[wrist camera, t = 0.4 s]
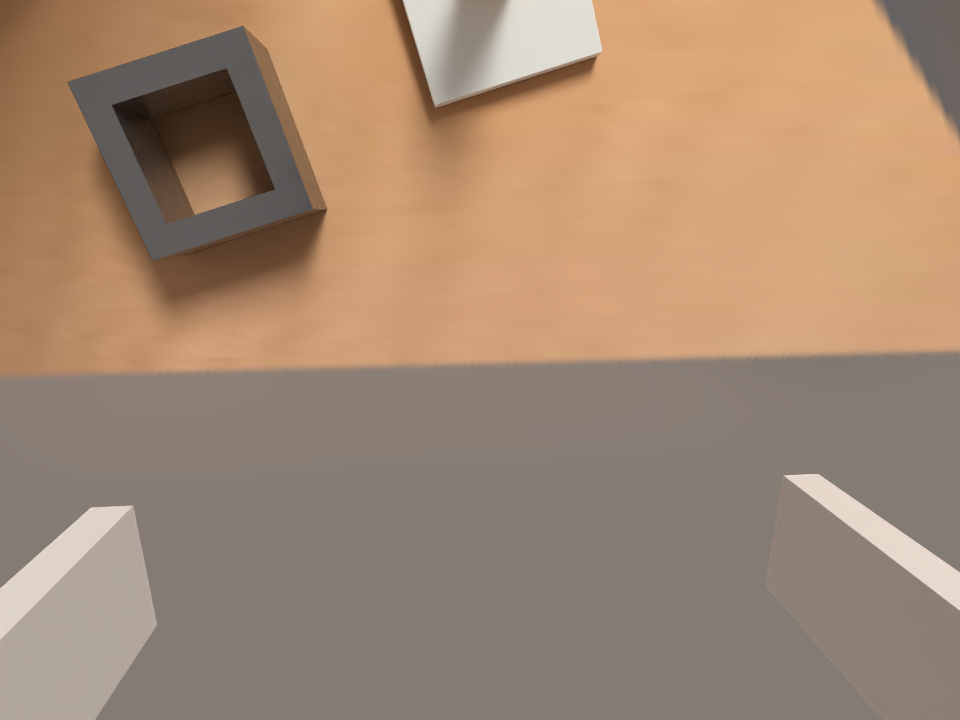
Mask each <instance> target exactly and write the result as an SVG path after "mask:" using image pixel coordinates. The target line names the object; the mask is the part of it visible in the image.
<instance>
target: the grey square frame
mask: <svg viewBox="0 0 960 720" xmlns="http://www.w3.org/2000/svg"><path fill="white" fill-rule="evenodd" d="M68 84H69V87H70V89H71V91H72V93H73V95H74V97H75V99H76V101H77V103H78V105H79V108H80V110H81V112H82V114H83V116H84V118H85V120H86V122H87V124H88V126H89V128H90V131H91V133H92V135H93V137H94V139H95V141H96V143H97V145H98V147H99V149H100V152H101V154H102V156H103V158H104V160H105V162H106V164H107V166H108V168H109V170H110V173H111V175H112V177H113V179H114V181H115V183H116V185H117V187H118V189H119V191H120V193H121V196H122V198H123V200H124V202H125V204H126V206H127V208H128V210H129V212H130V214H131V217H132V219H133V221H134V223H135V225H136V227H137V229H138V231H139V233H140V235H141V237H142V240H143V242H144V244H145V246H146V248H147V250H148V252H149V254H150V256H151V258H152V260H158V259H163V258H169V257H174V256H180V255H185V254H188V253H192V252H195V251H198V250H201V249H204V248H207V247H210V246H213V245H217V244H220V243H223V242H226V241H229V240H232V239H235V238H238V237H242V236H245V235H248V234H251V233H254V232H257V231H260V230H263V229H267V228H270V227H273V226H276V225H279V224H282V223H285V222H288V221H292V220H295V219H298V218H301V217H304V216H307V215H310V214H313V213H317V212H320V211H323V210H326V209H327V208H326V205H325V202H324V200H323V197H322V194H321V192H320V189H319V186H318V184H317V181H316V178H315V176H314V173H313V170H312V168H311V165H310V162H309V160H308V157H307V154H306V152H305V149H304V146H303V144H302V141H301V138H300V136H299V133H298V130H297V128H296V125H295V122H294V120H293V117H292V114H291V112H290V109H289V106H288V104H287V101H286V98H285V96H284V93H283V90H282V87H281V85H280V82H279V79H278V77H277V74H276V71H275V69H274V66H273V63H272V61H271V58H270V55H269V53H268V50H267V49H266V48H265V47H264V46H263V45H262V44H261V43H260V42H259V41H258V40H257V39H256V38H255V37H254V36H253V35H252V34H251V33H250V32H249V31H248V30H247V29H246V28H245V27H244V26H241V27H238V28H235V29H232V30H229V31H226V32H223V33H219V34H216V35H213V36H210V37H207V38H204V39H201V40H198V41H194V42H191V43H188V44H185V45H182V46H179V47H176V48H173V49H169V50H166V51H163V52H160V53H157V54H154V55H151V56H148V57H145V58H141V59H138V60H135V61H132V62H129V63H126V64H123V65H120V66H116V67H113V68H110V69H107V70H104V71H101V72H98V73H95V74H91V75H88V76H85V77H82V78H79V79H76V80H73V81H70V82H68ZM235 91H236V92H237V95H238V97H239V100H240V102H241V105H242V107H243V110H244V112H245V115H246V117H247V120H248V122H249V125H250V127H251V130H252V132H253V135H254V138H255V140H256V143H257V145H258V148H259V150H260V153H261V155H262V158H263V160H264V163H265V165H266V168H267V170H268V173H269V175H270V178H271V180H272V183H273V185H274V188H275V190H272V191H269V192H266V193H263V194H259V195H256V196H253V197H250V198H247V199H244V200H241V201H238V202H234V203H231V204H228V205H225V206H222V207H219V208H216V209H213V210H209V211H206V212H203V213H200V214H197V215H194V212H193V210H192V208H191V206H190V203H189V201H188V199H187V197H186V194H185V192H184V190H183V188H182V185H181V183H180V181H179V179H178V176H177V174H176V172H175V170H174V167H173V165H172V163H171V161H170V158H169V156H168V154H167V152H166V149H165V147H164V145H163V143H162V140H161V138H160V136H159V134H158V131H157V129H156V127H155V125H154V122H153V120H152V118H153V117H156V116H160V115H163V114H166V113H169V112H172V111H175V110H178V109H181V108H185V107H188V106H191V105H194V104H197V103H200V102H203V101H206V100H210V99H213V98H216V97H219V96H222V95H225V94H228V93H231V92H235Z"/></svg>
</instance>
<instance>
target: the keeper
mask: <svg viewBox="0 0 960 720" xmlns="http://www.w3.org/2000/svg"><path fill="white" fill-rule="evenodd" d="M402 1H403V5H404V8H405V11H406V15H407V18H408V21H409V25H410V28H411V31H412V35H413V38H414V41H415V44H416V48H417V51H418V54H419V58H420V61H421V64H422V68H423V71H424V74H425V77H426V81H427V84H428V87H429V91H430V94H431V97H432V101H433V104H434V107H435V108H437V107H440V106H444V105H447V104H450V103H453V102H456V101H459V100H462V99H465V98H469V97H472V96H475V95H478V94H481V93H484V92H487V91H490V90H494V89H497V88H500V87H503V86H506V85H509V84H512V83H515V82H518V81H522V80H525V79H528V78H531V77H534V76H537V75H540V74H543V73H547V72H550V71H553V70H556V69H559V68H562V67H565V66H568V65H572V64H575V63H578V62H581V61H584V60H587V59H590V58H593V57H597V56H598V55H599V54H600V53H601V52H602V47H601V42H600V37H599V33H598V28H597V23H596V19H595V14H594V9H593V5H592V0H402Z"/></svg>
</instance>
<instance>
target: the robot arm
mask: <svg viewBox="0 0 960 720" xmlns="http://www.w3.org/2000/svg"><path fill="white" fill-rule="evenodd" d="M766 587H767V589H768V590H769V591H770V592H771V593H772V594H773V595H774V596H775V598H776V599H777V600H778V601H779V602H780V603H781V604H782V606H783V607H784V608H785V609H786V610H787V611H788V612H789V614H790V615H791V616H792V617H793V618H794V619H795V620H796V622H797V623H798V624H799V625H800V626H801V627H802V628H803V629H804V631H806V633H807V634H808V635H809V636H810V638H811V639H812V640H813V641H814V642H815V643H816V644H817V645H818V647H819V648H820V649H821V650H822V651H823V652H824V653H825V655H826V656H827V657H828V658H829V659H830V660H831V661H832V663H833V664H834V665H835V666H836V667H837V668H838V669H839V671H840V672H841V673H842V674H843V675H844V676H845V677H846V679H847V680H848V681H849V682H850V683H851V684H852V685H853V686H854V688H855V689H856V690H857V691H858V692H859V693H860V695H861V696H862V697H863V698H864V699H865V700H866V701H867V702H868V703H869V705H870V706H871V707H872V708H873V709H874V710H875V712H876V713H877V714H878V715H879V716H880V717H881V718H882V720H960V572H958V571H957V570H955V569H954V568H952V567H951V566H949V565H948V564H947V563H945V562H944V561H942V560H941V559H939V558H938V557H937V556H935V555H934V554H932V553H931V552H929V551H928V550H927V549H925V548H924V547H922V546H921V545H919V544H918V543H916V542H915V541H913V540H912V539H911V538H909V537H908V536H906V535H905V534H903V533H902V532H901V531H899V530H898V529H896V528H895V527H893V526H892V525H890V524H889V523H888V522H886V521H885V520H883V519H882V518H881V517H879V516H878V515H876V514H875V513H873V512H872V511H870V510H869V509H868V508H866V507H865V506H863V505H862V504H860V503H859V502H857V501H856V500H855V499H853V498H852V497H850V496H849V495H847V494H846V493H845V492H843V491H842V490H840V489H839V488H837V487H836V486H834V485H833V484H832V483H830V482H829V481H827V480H826V479H824V478H823V477H822V476H820V475H819V474H807V475H786V476H784V477H783V483H782V489H781V495H780V501H779V507H778V513H777V519H776V525H775V531H774V537H773V544H772V549H771V555H770V561H769V567H768V573H767V579H766ZM156 626H157V623H156V617H155V612H154V608H153V603H152V598H151V592H150V587H149V583H148V577H147V572H146V568H145V562H144V558H143V552H142V548H141V543H140V538H139V533H138V528H137V523H136V518H135V513H134V508H133V506H118V507H96V508H90V509H89V510H88V511H87V512H86V513H84V514H83V515H82V516H81V517H80V518H79V519H78V520H77V521H76V522H74V523H73V524H72V525H71V526H70V527H69V528H68V529H67V530H65V531H64V532H63V533H62V534H61V535H60V536H59V537H57V538H56V539H55V540H54V541H53V542H52V543H51V544H50V545H49V546H47V547H46V548H45V549H44V550H43V551H42V552H41V553H40V554H38V555H37V556H36V557H35V558H34V559H33V560H32V561H31V562H29V563H28V564H27V565H26V566H25V567H24V568H23V569H22V570H21V571H19V572H18V573H17V574H16V575H15V576H14V577H13V578H11V579H10V580H9V581H8V582H7V583H6V584H5V585H4V586H2V587H1V588H0V720H95V719H96V717H97V716H98V714H99V713H100V711H101V710H102V708H103V707H104V705H105V704H106V702H107V701H108V699H109V697H110V696H111V694H112V693H113V691H114V690H115V688H116V687H117V685H118V684H119V682H120V681H121V679H122V678H123V676H124V674H125V673H126V672H127V670H128V668H129V667H130V665H131V664H132V662H133V661H134V659H135V657H136V656H137V655H138V653H139V652H140V650H141V649H142V647H143V645H144V644H145V642H146V641H147V639H148V638H149V636H150V635H151V633H152V632H153V630H154V629H155V627H156Z"/></svg>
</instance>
